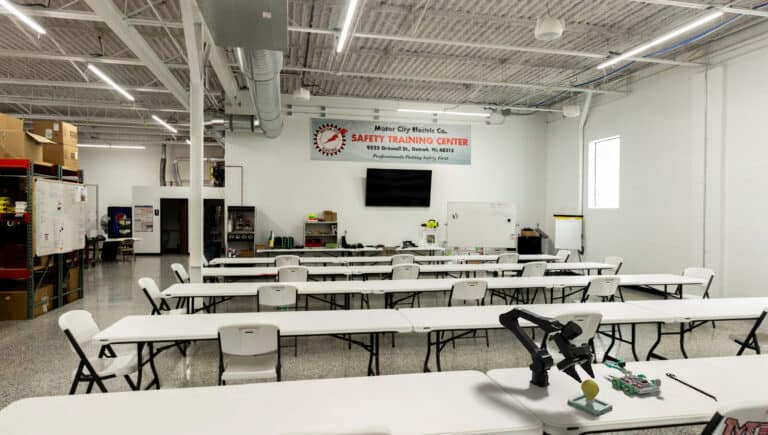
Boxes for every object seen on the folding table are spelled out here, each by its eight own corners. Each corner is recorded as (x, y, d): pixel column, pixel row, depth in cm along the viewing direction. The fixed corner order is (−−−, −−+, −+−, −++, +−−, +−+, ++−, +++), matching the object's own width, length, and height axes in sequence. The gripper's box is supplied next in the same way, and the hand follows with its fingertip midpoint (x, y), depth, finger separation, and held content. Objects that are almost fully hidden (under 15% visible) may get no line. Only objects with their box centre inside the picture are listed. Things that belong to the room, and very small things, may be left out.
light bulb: (599, 403, 169) (600, 379, 168) (598, 409, 163) (599, 385, 163) (581, 399, 172) (582, 375, 172) (579, 405, 166) (580, 381, 166)
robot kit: (618, 371, 205) (619, 353, 205) (667, 393, 182) (668, 373, 181) (589, 375, 199) (590, 356, 199) (636, 399, 176) (637, 377, 175)
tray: (567, 403, 169) (567, 399, 169) (584, 396, 176) (584, 393, 176) (595, 416, 159) (595, 412, 159) (612, 408, 166) (612, 405, 166)
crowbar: (662, 373, 202) (670, 372, 203) (661, 375, 202) (670, 374, 203) (716, 399, 175) (726, 399, 176) (716, 402, 175) (726, 401, 176)
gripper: (564, 340, 167) (588, 376, 158) (590, 333, 177) (614, 367, 168) (546, 352, 174) (569, 388, 165) (572, 345, 184) (595, 379, 175)
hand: (587, 380), depth 168 cm, fingers open, 9 cm apart
